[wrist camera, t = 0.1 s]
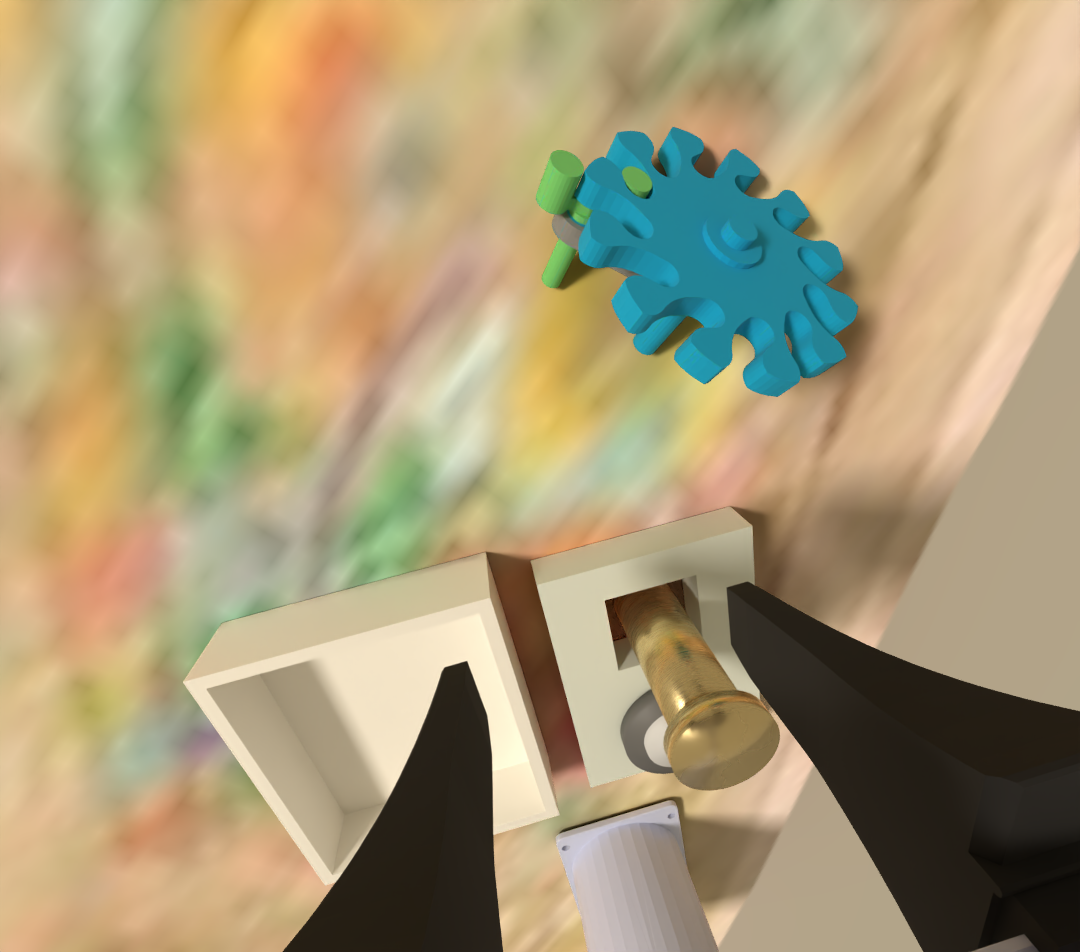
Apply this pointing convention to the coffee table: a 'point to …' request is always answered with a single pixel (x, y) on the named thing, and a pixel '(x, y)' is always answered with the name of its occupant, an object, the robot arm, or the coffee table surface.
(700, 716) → the pin
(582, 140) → the coffee table surface
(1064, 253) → the coffee table surface
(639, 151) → the gear
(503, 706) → the tray
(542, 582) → the block
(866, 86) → the coffee table surface
